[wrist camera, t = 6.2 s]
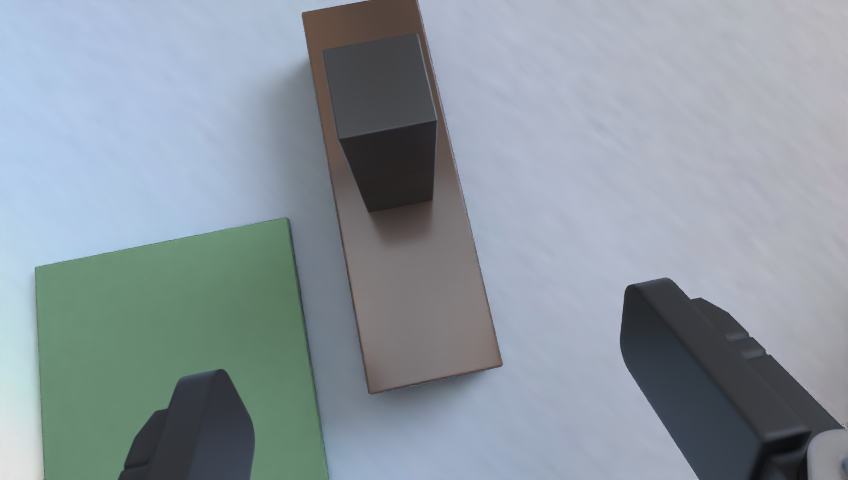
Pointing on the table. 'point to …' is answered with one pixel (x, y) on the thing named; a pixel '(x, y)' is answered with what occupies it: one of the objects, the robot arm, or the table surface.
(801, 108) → the table surface
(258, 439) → the rubber mat
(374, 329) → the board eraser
